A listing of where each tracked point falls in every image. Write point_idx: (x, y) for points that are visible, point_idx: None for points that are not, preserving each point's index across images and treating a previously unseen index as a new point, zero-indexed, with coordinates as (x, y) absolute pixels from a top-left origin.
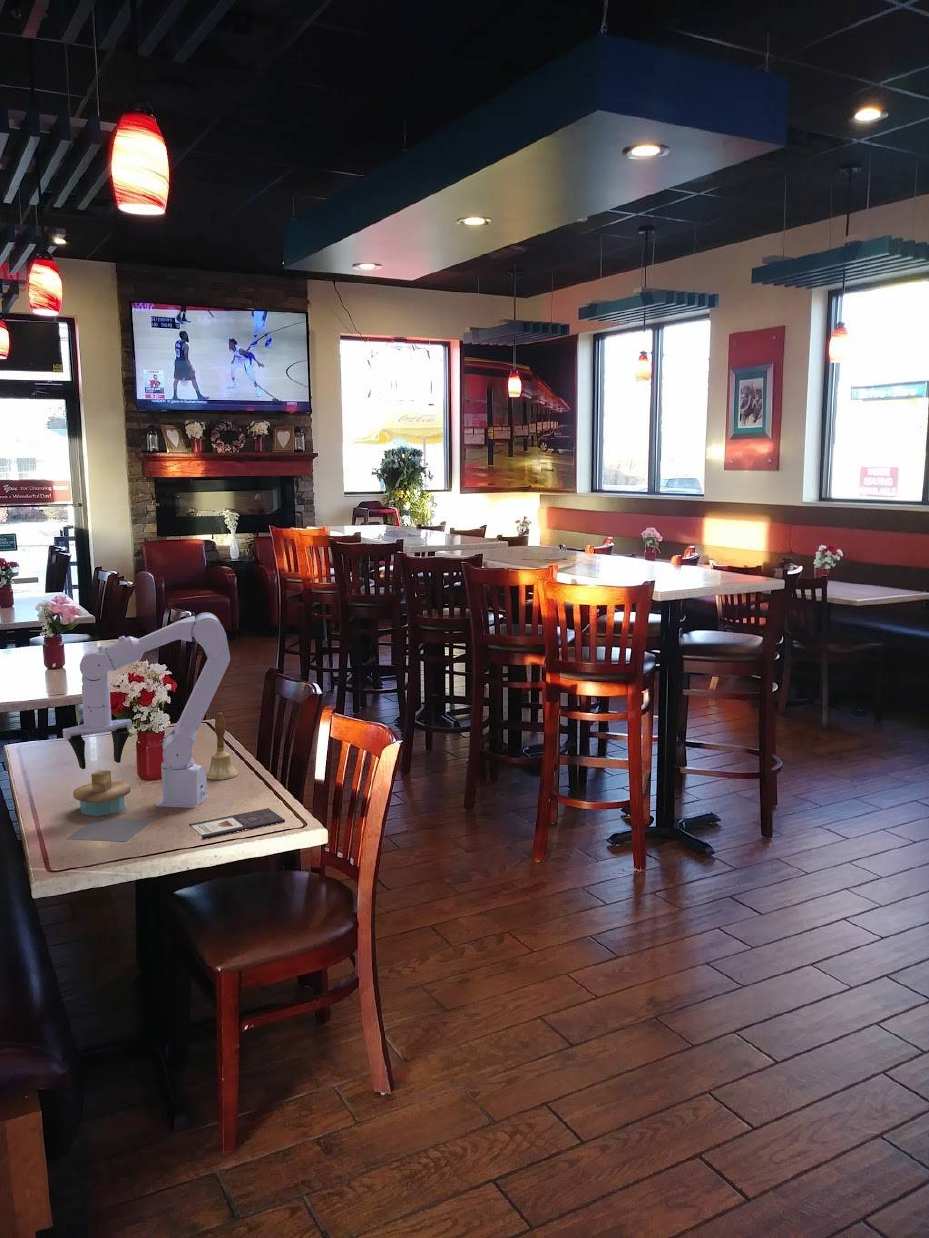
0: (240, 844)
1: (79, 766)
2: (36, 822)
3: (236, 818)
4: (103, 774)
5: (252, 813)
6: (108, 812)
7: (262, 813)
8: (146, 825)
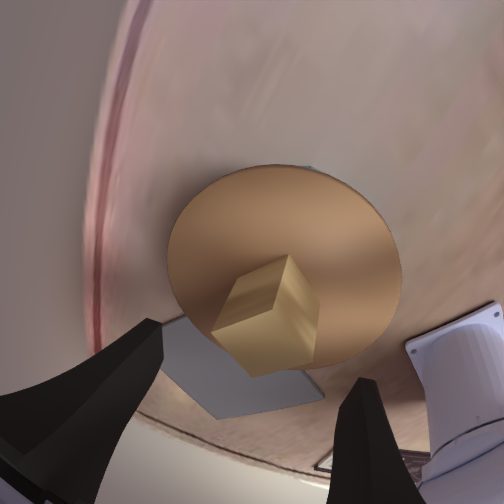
0: (328, 486)
1: (141, 323)
2: (102, 182)
3: (404, 462)
4: (251, 375)
5: None
6: None
7: None
8: (290, 406)
